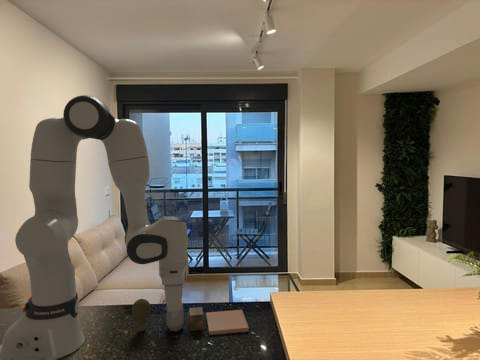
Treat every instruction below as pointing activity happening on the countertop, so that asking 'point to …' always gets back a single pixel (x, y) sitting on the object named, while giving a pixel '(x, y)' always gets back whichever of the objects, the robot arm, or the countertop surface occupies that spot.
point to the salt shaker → (175, 320)
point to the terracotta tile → (226, 322)
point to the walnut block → (196, 319)
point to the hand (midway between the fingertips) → (174, 312)
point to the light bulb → (141, 313)
